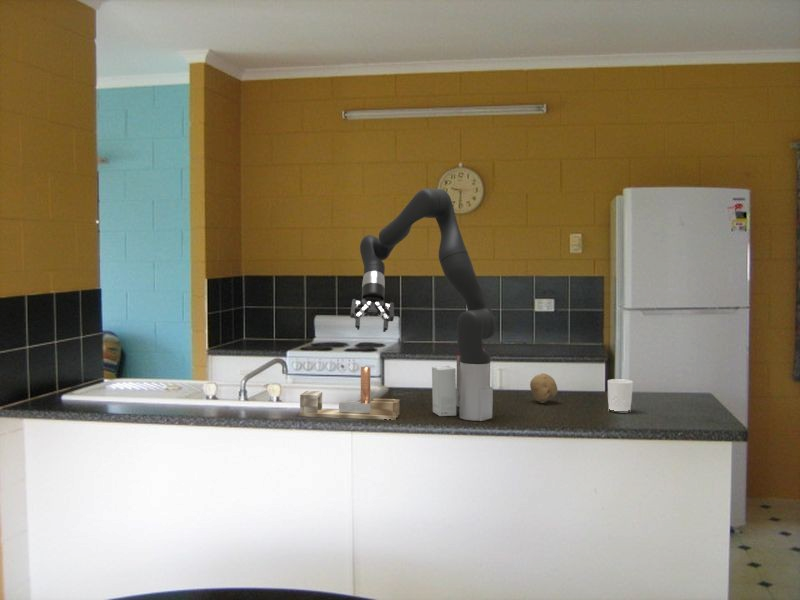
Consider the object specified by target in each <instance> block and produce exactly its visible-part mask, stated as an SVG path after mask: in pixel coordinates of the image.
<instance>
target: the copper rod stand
mask: <svg viewBox="0 0 800 600" xmlns="http://www.w3.org/2000/svg"><path fill="white" fill-rule="evenodd" d="M371 371H372V370H371V366H360V400H359V401H358V400H356V401H354V400H353V401H352V400H340V401H339V402H338V409H339V412H346V413H370V402H371Z"/></svg>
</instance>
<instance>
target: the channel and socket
mask: <svg viewBox="0 0 800 600" xmlns="http://www.w3.org/2000/svg"><path fill="white" fill-rule="evenodd" d="M299 398H300V399H299V402H300V403H299V413H298V416H299V417H306V418H309V417H312V418H333V419H334V418H337V419H359V420H360V419H361V420H362V419H364V420H384V419H387V420H388V421H389V419H391V420H392V421H396V420H397V419H398V417H399V416H400V399H399V398H398V399H396V398H372V400H370V413H346V412H339V408H338V409H337V408H323V390H305V391H303V392H302V393H301V394H299ZM398 415H399V416H398ZM396 418H397V419H396ZM391 420H390V421H391Z"/></svg>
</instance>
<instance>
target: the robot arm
mask: <svg viewBox="0 0 800 600" xmlns="http://www.w3.org/2000/svg"><path fill="white" fill-rule="evenodd" d="M451 198H452V197H450V195H449V193H448V192H447V191H446V190H445V189H441V188H423V189H420V190H419V191H418V192H417V193H416V194H415V195H414V196H413V197H412V198H411V200H410V201H409V202H408V203H407V205H406V206H404V208H403V210H402V211H401V212H400V213H399V214H398V215H397V216H396V217H395V218H394V219H393V220H392V221H390V223H388V224H387V225H386V226H384V227H383V228H382V229H381V230H380V231H379V233H378V237H376V236H374V235H371V234H367V235H365V236H364V237H363V238H362V240H361V241H360V245H359V251H360V256H361V260H362V263H363V279H362V285H361V300H357V299H356V298H353V299H352V300H351V307H350V308H351V309H350V316H349V317H350V318H351V319H355V324H354V325H355V328H356V330H360V327H361V319H362V317H364V316H365V315H369V316H371V315H372V316H376V317H377V316H379V317H380V319H382V320H383V324H382V325H383V327H382V328H383V329H382V330H383V331H382V332H383V333H385V332H386V331H388V330H389V322H393V321H394V318H395V303H394V302H392V301H390V303H386V302H385V292H386V291H385V289H386V287H385V285H386V283H385V282H386V281H385V269H386V268H385V263H384V262H383V261H385V260H387V259H388V257H389V256H390V254H391V252H392V251H393V249H394V248H395V247H396V246H397V245H398V244H400V243H401V242H402V241H403V240H404V239H405V238H406V237H407V236H408V235H409V233H410V231H411V228H412V226H413V225H414V224H415V223H417V221H420V220H422V219H423V218H427V219H435V220H436V222H437V225H438V228H439V230H440V231H439V232H440V241H439V248H438V261H439V263H440V266H441V270H442V273H443V275H444V277H445V278H446V280H447V282H448V283H449V285H451V287H453V289H454V290H455V291H456V292H457V293H458V294H459V296H460V297H461V298H462V299H463V301H464V304H465V305H466V306H465V307H466V308H467V310H466V311H463V312H461V314H460V315H459V317H458V320H457V325H456V326H457V327H456V335H457V338H456V339H457V350H458V353H459V355H460V407H459V411H458V412H459V418H460V419H462V420H465V421H473V422H474V421H477V422H478V421H479V422H482V421H487V420H491V419H493V396H494V395H493V394H494V393H493V391H494V390H493V386H492V387H491V353H490V352H488V351H486V350H485V349H484V348H483V341H482V340H487V339H488V340H489V339H490V338H492V337H494V335H495V333H496V330H497V322H496V318H495V315H494V313H493V311H492V309H491V307H490V305H489V303H488V301H487V298H486V296H485V295H484V292H483V290H482V288H481V287H482V286H481V285H480V281H479V280H478V277H477V275H476V272H475V270H474V267H473V264H472V260H471V258H470V255H469V252H468V249H467V248H466V246H465V242H464V240H463V236H462V234H461V233H462V232H461V231H460V227H459V225H458V221H457V217H456V213H455V209H454V204H453V202H452V199H451ZM359 306H360V309H359V311H358V312H357V313H356V312H355V311H356V308H358V307H359ZM385 309H387V311H389V315H388V314H387V313H386V310H385ZM483 349H484V350H485V351H484V350H483Z"/></svg>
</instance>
